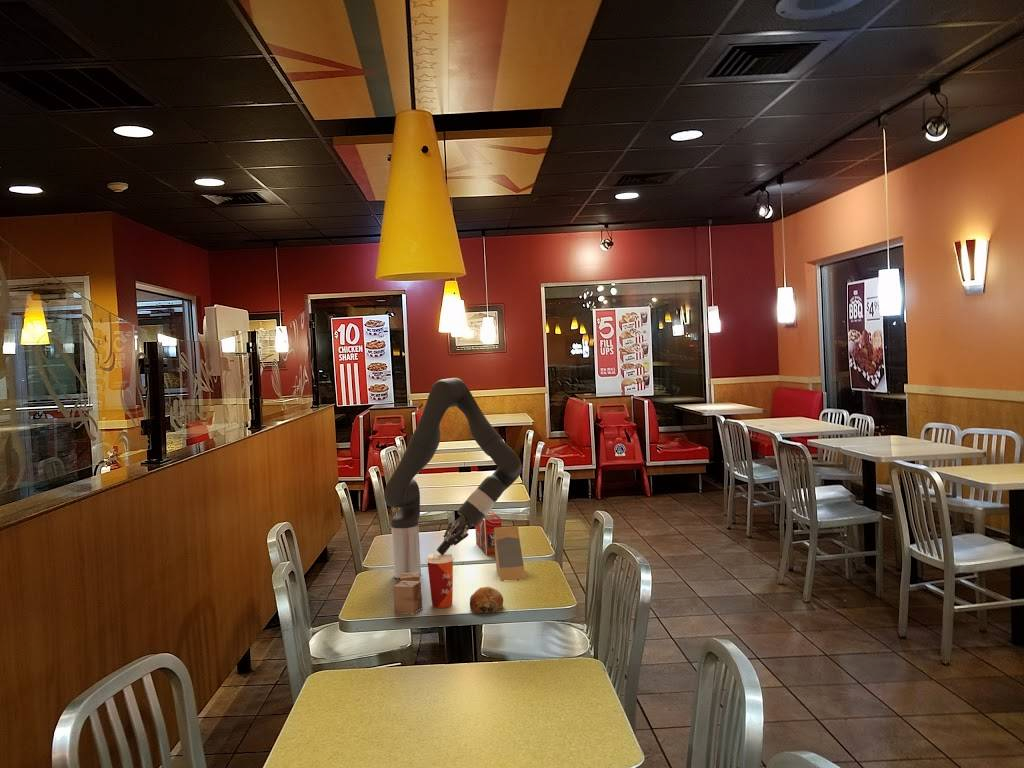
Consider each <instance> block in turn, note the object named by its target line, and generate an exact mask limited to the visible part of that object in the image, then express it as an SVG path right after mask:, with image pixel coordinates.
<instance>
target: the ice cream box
mask: <svg viewBox="0 0 1024 768" xmlns="http://www.w3.org/2000/svg"><path fill="white" fill-rule="evenodd" d="M496 527H502V518H501V517H500V516H499V515H498V514H497V513H495V511H493V510H492V509H491V510H490V511H489V512H488V513H487V515H486V516H485V517H484V518H483V520H482V521H481V522H480V523H479V525H478V526H477V527H474V528H475V540H476V541H475V543H476V545H478V546H477V547H478V548H479V549H480V550H481V551H482V552H483V554H484V555H485V556H493V555H495V538H494V528H496Z"/></svg>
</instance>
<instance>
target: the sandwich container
mask: <svg viewBox="0 0 1024 768" xmlns="http://www.w3.org/2000/svg"><path fill="white" fill-rule="evenodd" d="M519 532H520V531H519V526H517V525H515V526H501V527H496V528H494V538H495V566H496V567H495V568H496V570H495V571H496V573H498V574H497V576H498V575H499V576H498V577H500V578H499V580H500V579H501V580H500V581H501V582H505V581H504V580H515V581H517V580H516V579H525V580H527V578H526V571H525V566H524V559H523V553H522V546H521V539H520V533H519Z"/></svg>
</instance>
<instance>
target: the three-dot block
mask: <svg viewBox="0 0 1024 768" xmlns="http://www.w3.org/2000/svg"><path fill="white" fill-rule="evenodd" d="M393 598H394V599H393V600H394V601H393V603H394V614H398V613H415V612H416V611H418V610H419V609H420V610H422V609H423V595H422V581H421V580H420V581H401V582H400V581H399V583H397V584H394V585H393ZM421 608H422V609H421ZM420 610H419V611H420ZM419 611H418V612H419ZM416 613H417V612H416ZM416 613H415V614H416Z"/></svg>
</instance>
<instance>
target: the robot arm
mask: <svg viewBox="0 0 1024 768" xmlns="http://www.w3.org/2000/svg"><path fill="white" fill-rule="evenodd" d="M453 407H455V408H456V407H457V409H459V410H460V411H461V412H462V413H463V415H464V416H465V419H466V420H467V422H468V423H467V424H468V426H469V430H470V433H471V436H472V438H473V440H474V441H475V442H476V444H477V445H478V446H479V447H480V449H481V450H482V451H483V453H484V454H485V455H486V456H487V457H489V458H490V459H491V460H492V461H493V463H494V464H495V465H496V467H497V468H496V470H494V472H493V473H492V474H491V475H489V476H486V477H485V478H484V479H483V480H482V482H481V483H480V484H479V485H478V486H477V488H476V489H475V490H473V492H472V493H471V494H470V495H469V496H468V497H467V499H466V500H465V501H464V502H463V504H462V505H461V506H460V507H459V508H458V510H457V514H458V515H459V517H458V518H457V519H455V520H454V522H453V523H452V522H449V524H448V525H447V528H446V530H445V532H444V534H443V541H442V542H441V544H439V546H438V547H437V548H436V552H437V553H440V554H441V555H444V554H445V553H447V551H448V550H449V549H450V547H453V546H457V545H458V544H459V543H460V542H462V541H463V540H464V539H466V538H468V536H469V533H468V532H469V529H470V528H471V527H474V528H475V527H477V526H478V525H479V523H480V522H481V521H482V520H483V518H484V517H485V516H486V515H487V513H488V512H489V511H490V510H492V508H493V506H494V505H495V503H496V502H497V501H498V500H499V499H500V497H501V496H502V495H503V493H504V492H505V491H506V490H507V489H509V487H511V486H512V485H513V484H514V482H515V481H516V480H517V479H518V478H519V477H520V476H521V473H522V470H523V466H522V462H521V461H522V460H521V458H520V457H519V455H518V454H517V453H516V452H515V451H514V449H513V448H511V447H510V446H509V445H508V444H507V443H506V442H505V441H504V439H503V438H502V436H501V435H500V434H499V432H498V431H497V430H496V429H495V428H494V426H492V424H491V423H490V421H489V420H488V419H487V418H486V416H485V415H484V413H483V411H482V409H481V408H480V406H479V403H477V401H476V399H475V397H474V396H473V394H472V393H471V390H470V389H469V387H468V386H467V384H466V383H465V382H464V381H463V380H462V379H460V378H458V377H450V378H448V377H447V378H445V379H444V378H443V379H440V380H437V381H435V382H434V383H433V385H432V387H431V389H430V391H429V393H428V396H427V400H426V403H425V406H424V409H423V411H422V414H421V416H420V418H419V420H418V423H417V425H416V428H415V429H414V431H413V433H412V435H411V437H410V440H409V441H408V444H407V446H406V449H405V451H404V453H403V455H402V457H401V459H400V461H399V463H398V465H397V467H396V469H395V470H394V472H393V474H392V475H391V477H389V480H388V482H387V483H386V486H385V487H384V488H385V489H384V492H383V498H384V502H385V503H386V505H387V506H388V507H390V508H399V511H398V512H397V513H396V514H395V515H394V516H393V517H392V518H391V519H390V525H391V543H392V544H391V545H392V562H393V563H392V564H393V577H394V578H395V579H399V578H400V573H409V572H419V574H420V576H421V575H422V571H421V569H422V567H421V549H420V534H419V533H420V527H419V519H420V515H421V494H420V493H421V492H420V488H419V487H420V486H419V484H418V482H417V481H416V479H414V477H415V476H416V475H418V474H419V473H420V472H421V471H422V470H423V469H424V468H425V467H426V466H427V465H428V464H429V462H430V461H431V460H432V459H433V457H434V456H435V454H436V451H437V449H438V447H439V445H440V442H441V430H440V429H441V427H440V426H441V422H442V419H443V418H444V415H445V413H446V412H447V411H448V409H449V408H453Z"/></svg>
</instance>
